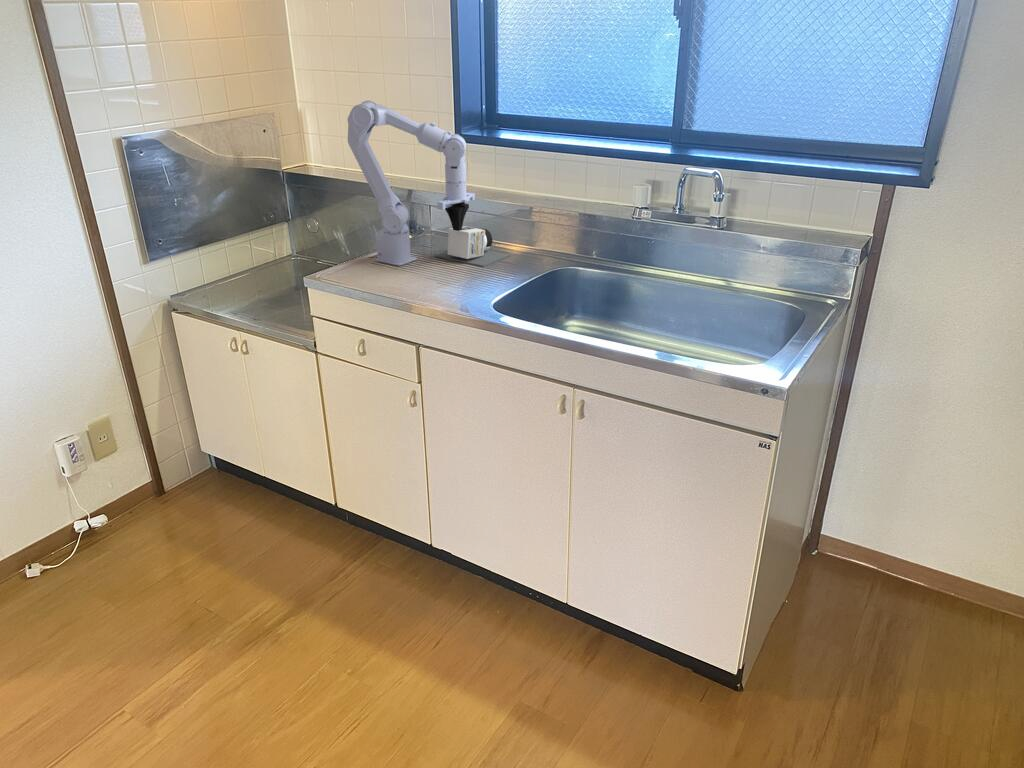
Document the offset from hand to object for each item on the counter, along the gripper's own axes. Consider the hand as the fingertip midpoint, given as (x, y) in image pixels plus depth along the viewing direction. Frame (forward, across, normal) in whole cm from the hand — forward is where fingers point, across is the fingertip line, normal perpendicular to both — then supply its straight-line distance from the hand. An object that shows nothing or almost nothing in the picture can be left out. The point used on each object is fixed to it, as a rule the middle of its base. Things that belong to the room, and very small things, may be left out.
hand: (457, 229), depth 220 cm
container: (+4, 0, 0) cm, 4 cm away
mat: (+9, +7, 0) cm, 12 cm away
